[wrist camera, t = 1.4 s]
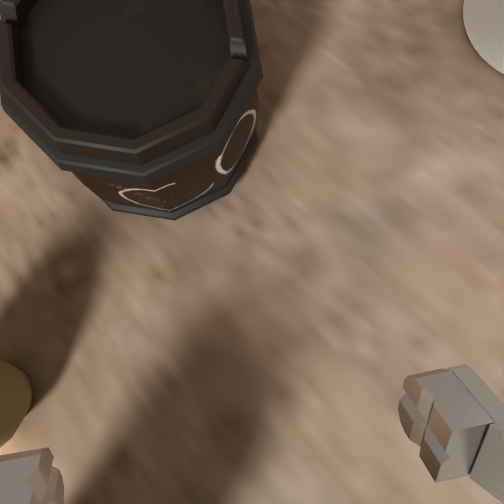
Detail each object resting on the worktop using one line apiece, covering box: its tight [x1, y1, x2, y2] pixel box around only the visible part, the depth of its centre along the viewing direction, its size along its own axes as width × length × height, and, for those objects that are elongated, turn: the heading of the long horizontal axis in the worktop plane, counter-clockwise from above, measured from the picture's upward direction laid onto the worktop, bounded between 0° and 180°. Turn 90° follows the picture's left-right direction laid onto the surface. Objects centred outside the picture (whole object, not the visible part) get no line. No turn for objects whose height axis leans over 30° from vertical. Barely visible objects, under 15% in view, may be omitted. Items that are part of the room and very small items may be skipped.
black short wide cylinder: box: [0, 0, 263, 220], centre depth 34 cm, size 18×18×16 cm
